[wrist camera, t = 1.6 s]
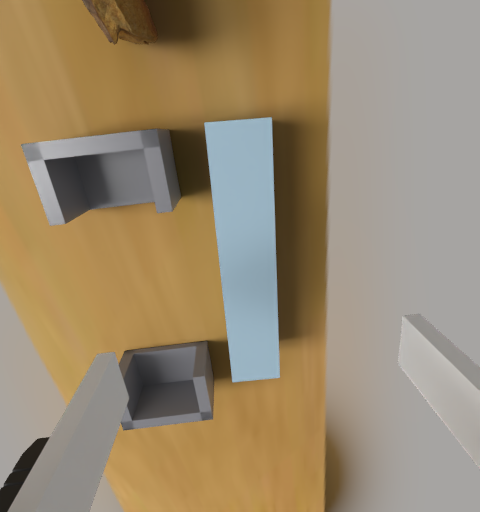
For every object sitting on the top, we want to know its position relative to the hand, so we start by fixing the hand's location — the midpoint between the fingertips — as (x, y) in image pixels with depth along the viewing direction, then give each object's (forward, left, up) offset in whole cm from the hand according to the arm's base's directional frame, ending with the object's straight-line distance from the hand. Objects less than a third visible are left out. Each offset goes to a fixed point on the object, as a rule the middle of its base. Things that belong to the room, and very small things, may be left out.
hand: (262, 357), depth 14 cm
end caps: (+6, -6, -13) cm, 16 cm away
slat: (0, 0, -14) cm, 14 cm away
